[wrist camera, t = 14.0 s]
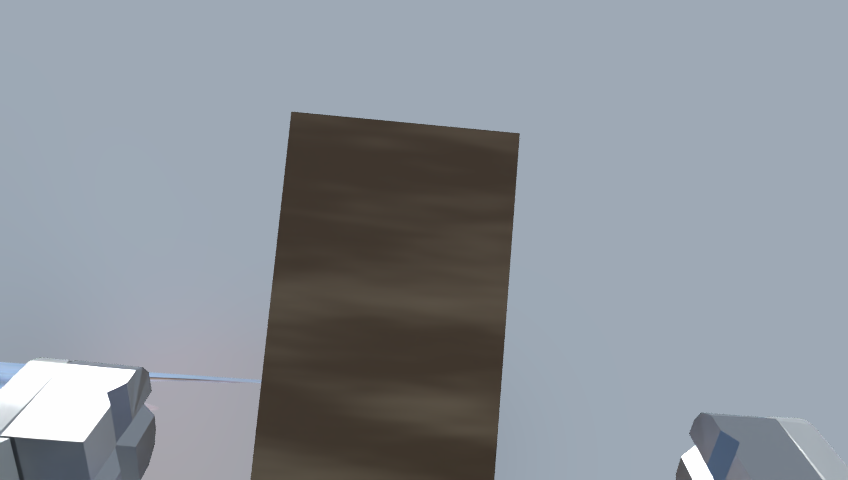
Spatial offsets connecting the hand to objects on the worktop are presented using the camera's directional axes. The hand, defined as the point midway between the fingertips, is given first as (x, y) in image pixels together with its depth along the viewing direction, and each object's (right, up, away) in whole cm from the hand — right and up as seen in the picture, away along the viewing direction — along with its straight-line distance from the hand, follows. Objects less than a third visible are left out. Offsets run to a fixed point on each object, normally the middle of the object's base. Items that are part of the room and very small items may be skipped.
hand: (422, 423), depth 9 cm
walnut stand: (-4, -21, +26) cm, 34 cm away
